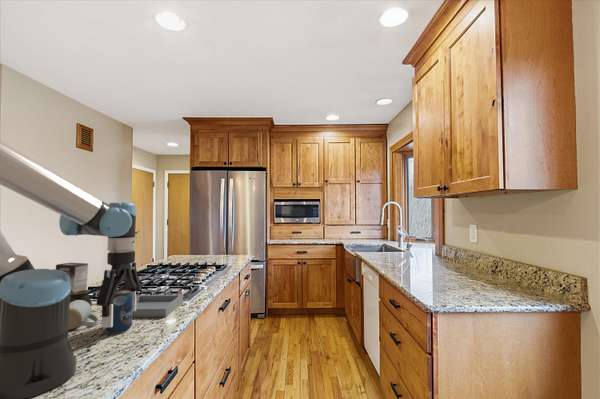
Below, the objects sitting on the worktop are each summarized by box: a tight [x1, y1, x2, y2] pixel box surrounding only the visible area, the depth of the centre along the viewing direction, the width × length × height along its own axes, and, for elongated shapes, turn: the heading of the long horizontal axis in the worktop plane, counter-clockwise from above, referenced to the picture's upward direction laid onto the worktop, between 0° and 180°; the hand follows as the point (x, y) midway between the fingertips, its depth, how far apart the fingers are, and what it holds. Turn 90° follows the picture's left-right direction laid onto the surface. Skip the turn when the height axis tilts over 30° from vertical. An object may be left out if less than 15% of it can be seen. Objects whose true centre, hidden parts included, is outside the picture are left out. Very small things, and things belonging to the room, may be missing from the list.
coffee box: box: [55, 262, 89, 298], centre depth 119 cm, size 9×6×16 cm
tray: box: [132, 294, 184, 319], centre depth 112 cm, size 18×18×3 cm
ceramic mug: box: [68, 300, 100, 331], centre depth 95 cm, size 11×8×8 cm
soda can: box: [105, 289, 133, 335], centre depth 92 cm, size 7×7×12 cm
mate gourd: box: [70, 289, 93, 307], centre depth 107 cm, size 7×8×10 cm
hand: (120, 318), depth 92 cm, fingers open, 13 cm apart
